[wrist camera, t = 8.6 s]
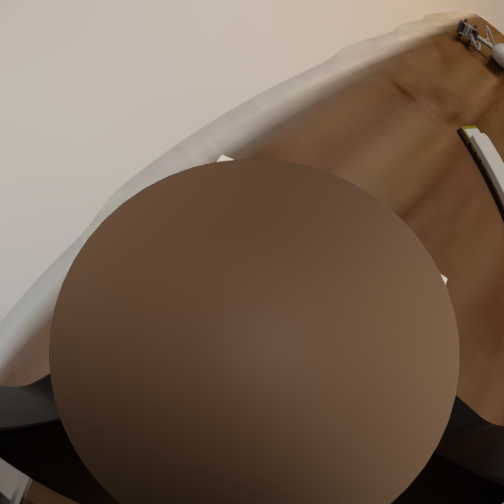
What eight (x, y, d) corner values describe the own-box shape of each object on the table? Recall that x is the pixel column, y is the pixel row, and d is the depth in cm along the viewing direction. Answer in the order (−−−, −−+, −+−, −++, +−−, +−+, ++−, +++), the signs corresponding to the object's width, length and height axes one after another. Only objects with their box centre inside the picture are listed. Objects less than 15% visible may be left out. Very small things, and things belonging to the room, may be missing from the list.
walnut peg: (326, 323, 15) (510, 280, 2) (282, 396, 14) (304, 587, 1) (253, 282, 16) (183, 104, 3) (210, 353, 15) (9, 397, 2)
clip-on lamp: (471, 41, 32) (447, 33, 26) (479, 20, 26) (457, 5, 20) (514, 74, 28) (506, 76, 22) (525, 53, 22) (520, 48, 16)
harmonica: (454, 133, 22) (462, 122, 20) (470, 131, 22) (478, 121, 20) (515, 263, 18) (528, 258, 16) (528, 254, 18) (540, 249, 16)
